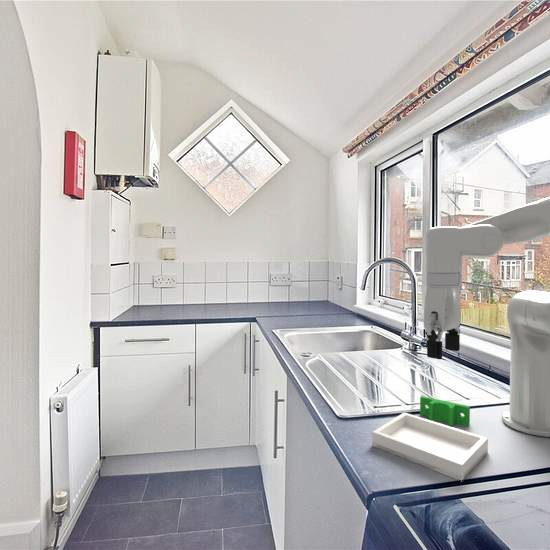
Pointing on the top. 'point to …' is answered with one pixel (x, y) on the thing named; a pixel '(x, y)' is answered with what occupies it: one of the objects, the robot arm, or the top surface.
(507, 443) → the top surface
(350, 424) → the top surface
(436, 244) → the robot arm
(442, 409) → the pipe clamp
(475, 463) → the tray
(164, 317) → the top surface
